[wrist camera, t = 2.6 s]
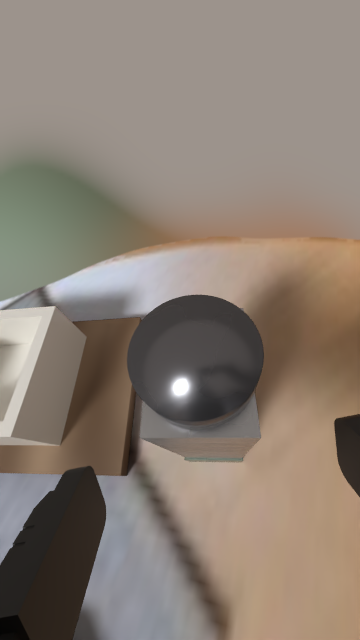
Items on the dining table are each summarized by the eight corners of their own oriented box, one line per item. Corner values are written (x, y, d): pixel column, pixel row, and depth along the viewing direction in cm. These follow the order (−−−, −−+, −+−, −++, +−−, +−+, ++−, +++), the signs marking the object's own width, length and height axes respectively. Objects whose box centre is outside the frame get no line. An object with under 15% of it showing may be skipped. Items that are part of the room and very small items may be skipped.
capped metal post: (236, 397, 19) (251, 282, 7) (242, 462, 16) (278, 436, 5) (188, 398, 19) (136, 291, 8) (187, 461, 17) (115, 435, 6)
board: (143, 324, 23) (140, 317, 22) (126, 475, 17) (120, 475, 16) (-8, 333, 26) (-17, 327, 24) (-72, 470, 19) (-89, 470, 18)
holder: (86, 336, 22) (55, 306, 18) (60, 445, 17) (10, 436, 13) (0, 342, 23) (-47, 314, 19) (-46, 444, 19) (-120, 436, 15)
